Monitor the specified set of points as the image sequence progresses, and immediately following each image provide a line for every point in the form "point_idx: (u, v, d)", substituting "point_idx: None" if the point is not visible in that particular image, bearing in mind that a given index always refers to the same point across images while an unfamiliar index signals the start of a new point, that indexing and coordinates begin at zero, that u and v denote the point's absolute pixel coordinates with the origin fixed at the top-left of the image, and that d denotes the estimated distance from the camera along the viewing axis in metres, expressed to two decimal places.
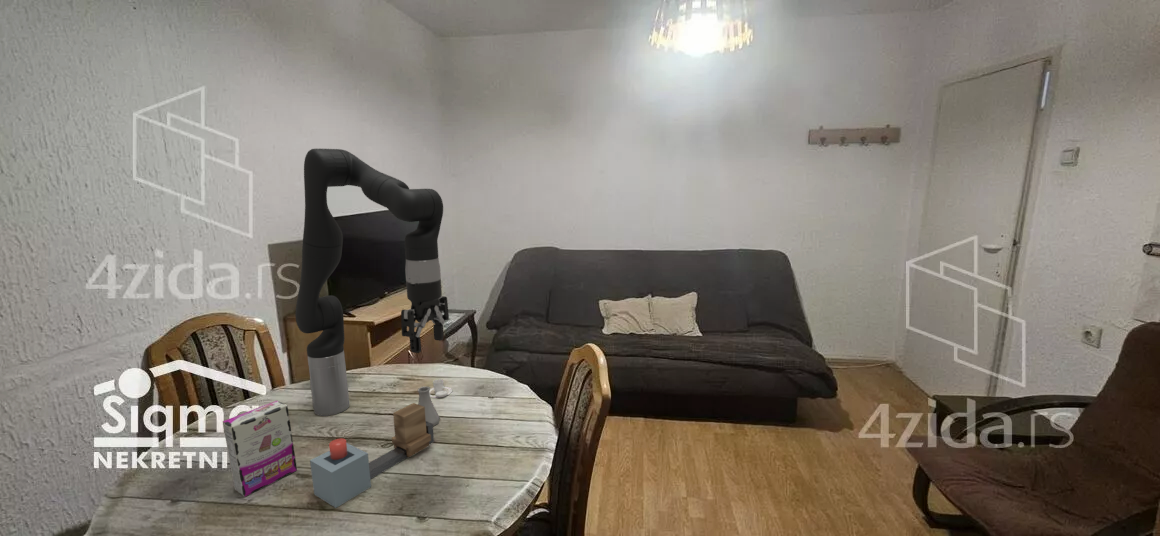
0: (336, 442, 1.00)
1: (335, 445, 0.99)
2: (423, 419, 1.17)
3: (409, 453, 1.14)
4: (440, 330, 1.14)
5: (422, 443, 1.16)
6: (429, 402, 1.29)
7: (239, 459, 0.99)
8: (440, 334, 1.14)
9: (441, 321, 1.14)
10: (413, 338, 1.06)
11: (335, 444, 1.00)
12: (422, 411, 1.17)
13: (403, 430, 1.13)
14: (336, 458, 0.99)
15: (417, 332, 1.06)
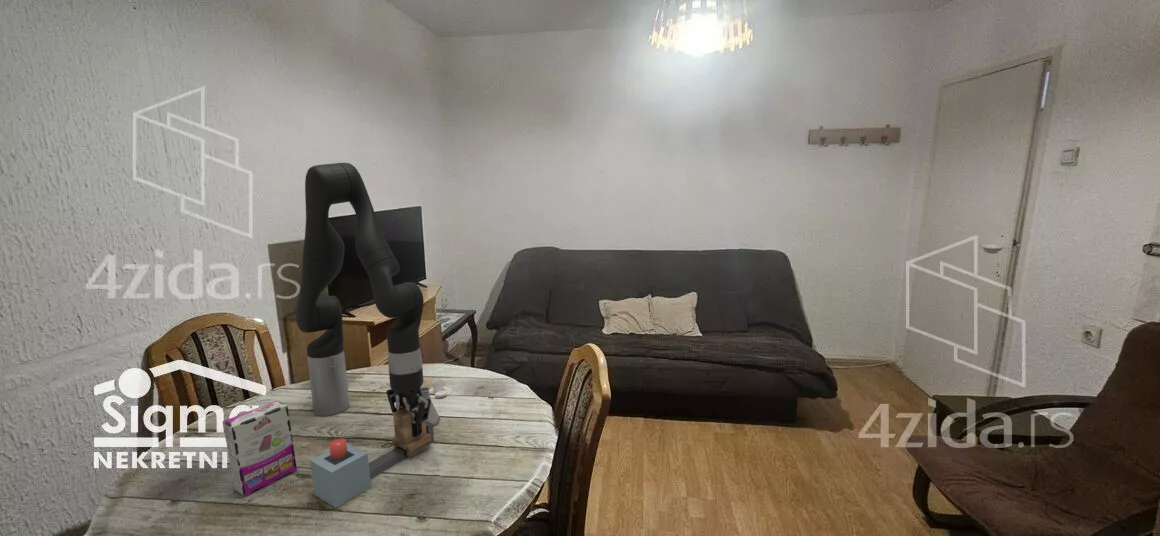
0: (336, 442, 1.00)
1: (335, 445, 0.99)
2: None
3: (409, 453, 1.14)
4: None
5: (422, 443, 1.16)
6: None
7: (239, 459, 0.99)
8: None
9: None
10: (420, 422, 1.14)
11: (335, 444, 1.00)
12: None
13: (403, 430, 1.13)
14: (336, 458, 0.99)
15: None
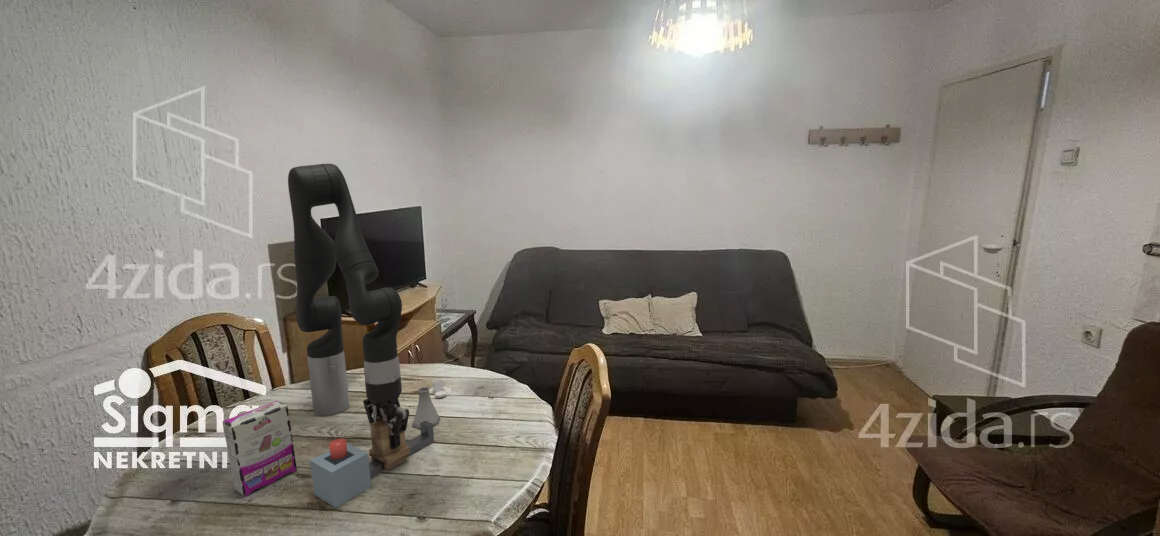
0: (336, 442, 1.00)
1: (335, 445, 0.99)
2: None
3: (387, 466, 1.08)
4: None
5: (401, 455, 1.10)
6: (429, 402, 1.29)
7: (239, 459, 0.99)
8: None
9: None
10: (398, 433, 1.09)
11: (335, 444, 1.00)
12: None
13: (380, 442, 1.08)
14: (336, 458, 0.99)
15: None
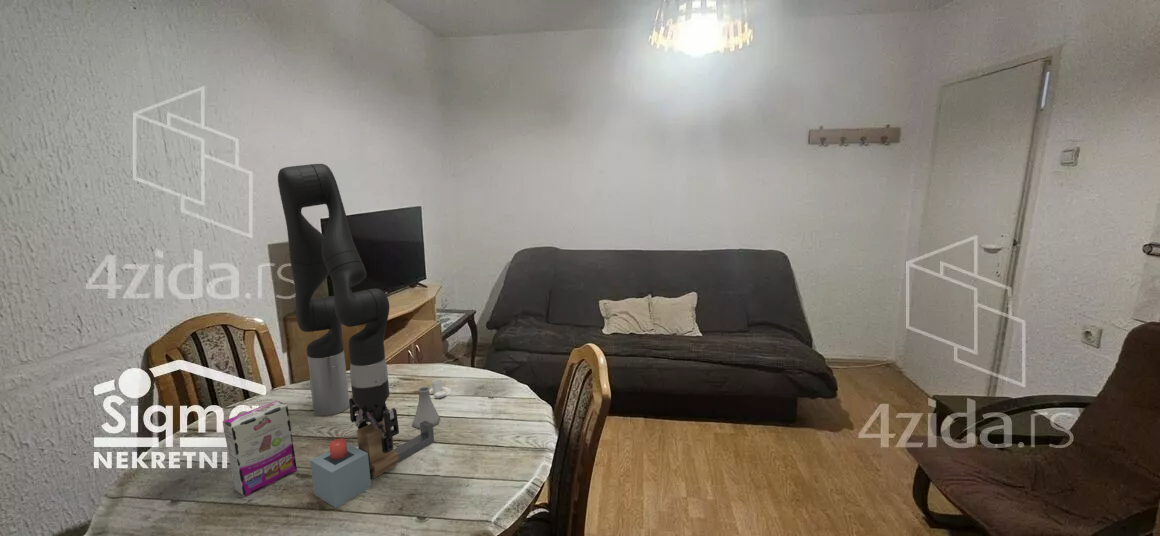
0: (336, 442, 1.00)
1: (335, 445, 0.99)
2: None
3: (374, 473, 1.06)
4: None
5: (388, 462, 1.08)
6: (429, 402, 1.29)
7: (239, 459, 0.99)
8: None
9: None
10: (391, 437, 1.05)
11: (335, 444, 1.00)
12: None
13: (367, 449, 1.05)
14: (336, 458, 0.99)
15: (392, 429, 1.06)
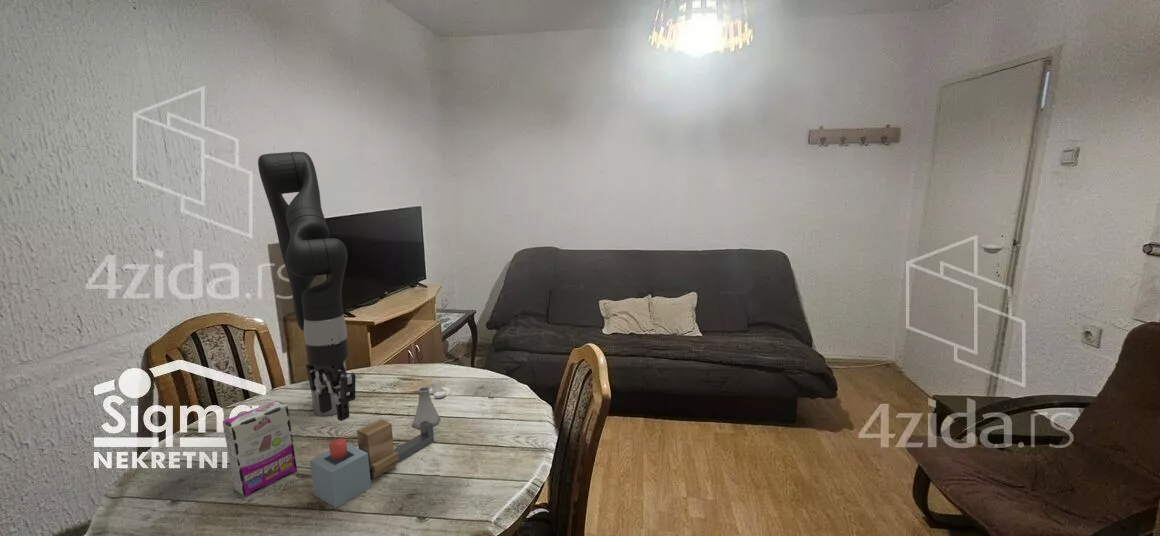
0: (336, 442, 1.00)
1: (335, 445, 0.99)
2: (390, 436, 1.09)
3: (374, 473, 1.06)
4: (329, 398, 1.01)
5: (388, 462, 1.08)
6: (429, 402, 1.29)
7: (239, 459, 0.99)
8: (330, 403, 1.01)
9: None
10: (347, 403, 0.97)
11: (335, 444, 1.00)
12: (389, 428, 1.09)
13: (367, 449, 1.05)
14: (336, 458, 0.99)
15: (348, 394, 0.97)
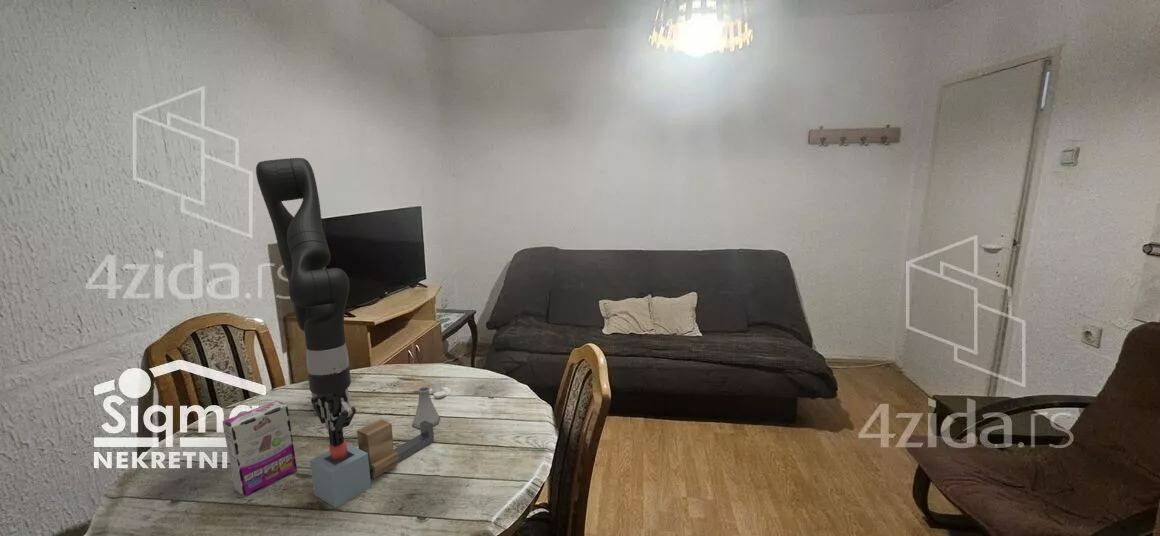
0: None
1: (335, 447, 0.99)
2: (390, 436, 1.09)
3: (374, 473, 1.06)
4: None
5: (388, 462, 1.08)
6: (429, 402, 1.29)
7: (239, 459, 0.99)
8: None
9: None
10: (341, 429, 0.99)
11: None
12: (389, 428, 1.09)
13: (367, 449, 1.05)
14: (336, 459, 1.00)
15: None
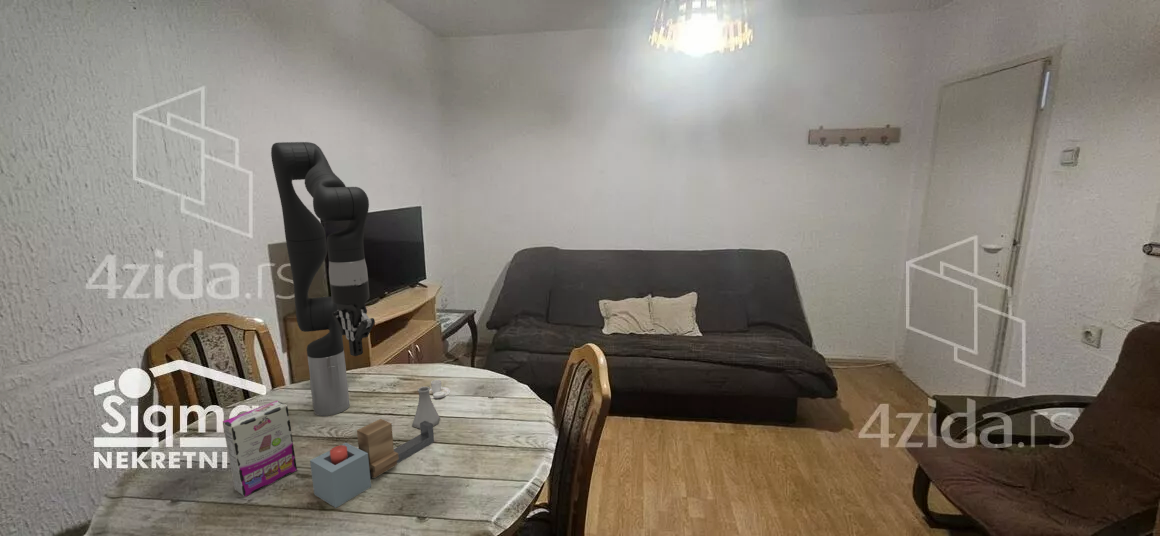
0: (337, 449, 1.01)
1: (336, 453, 0.99)
2: (390, 436, 1.09)
3: (374, 473, 1.06)
4: None
5: (388, 462, 1.08)
6: (429, 402, 1.29)
7: (239, 459, 0.99)
8: None
9: None
10: (360, 340, 1.06)
11: (336, 451, 1.00)
12: (389, 428, 1.09)
13: (367, 449, 1.05)
14: None
15: None
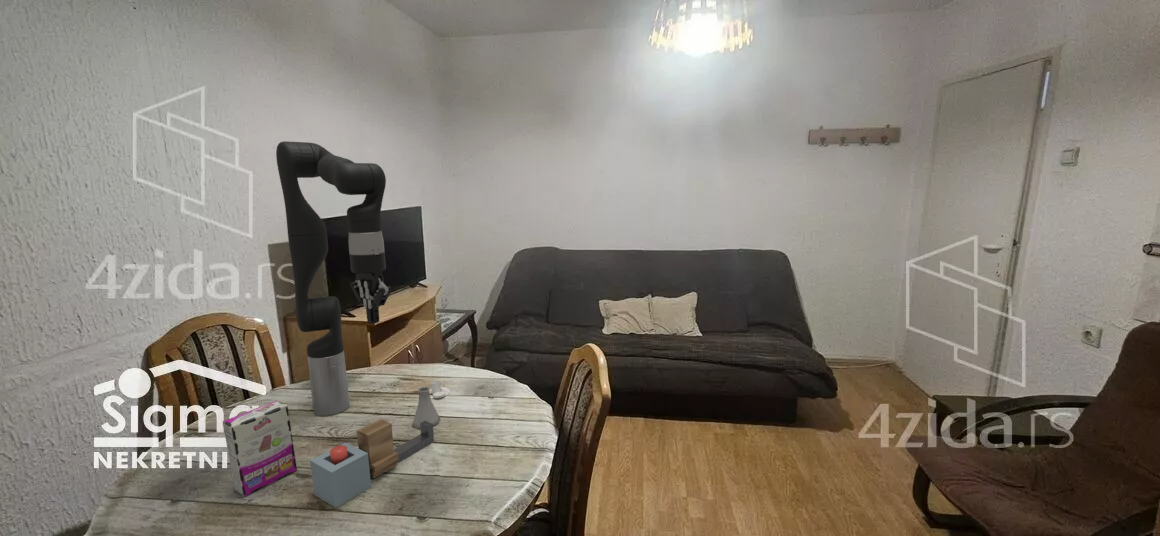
0: (337, 449, 1.01)
1: (336, 453, 0.99)
2: (390, 436, 1.09)
3: (374, 473, 1.06)
4: None
5: (388, 462, 1.08)
6: (429, 402, 1.29)
7: (239, 459, 0.99)
8: None
9: None
10: (377, 308, 1.13)
11: (336, 451, 1.00)
12: (389, 428, 1.09)
13: (367, 449, 1.05)
14: None
15: None
